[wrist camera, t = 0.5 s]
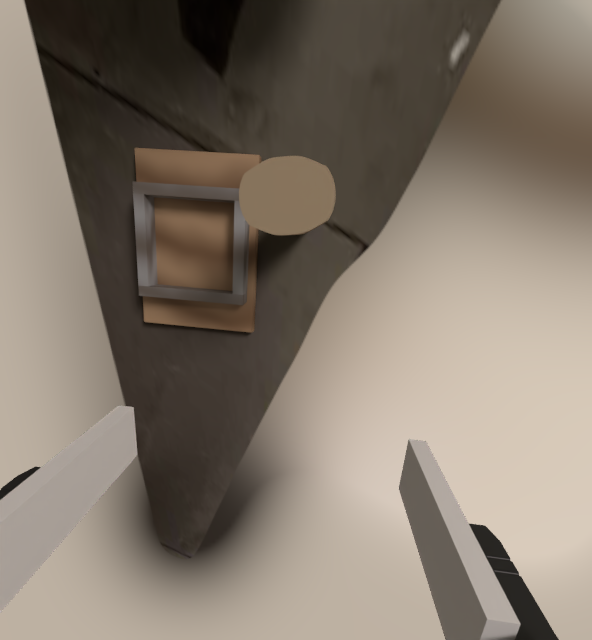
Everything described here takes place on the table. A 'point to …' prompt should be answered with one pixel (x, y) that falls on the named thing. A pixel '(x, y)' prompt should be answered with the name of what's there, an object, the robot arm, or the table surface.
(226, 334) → the table surface
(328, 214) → the handle
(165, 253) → the collar board
